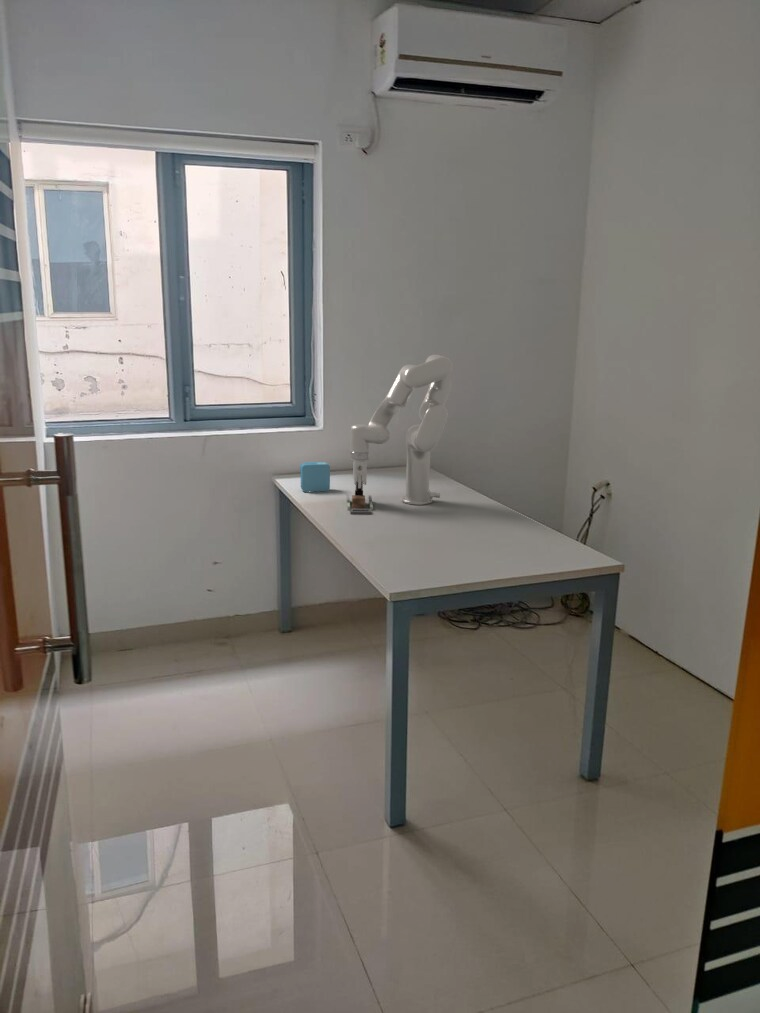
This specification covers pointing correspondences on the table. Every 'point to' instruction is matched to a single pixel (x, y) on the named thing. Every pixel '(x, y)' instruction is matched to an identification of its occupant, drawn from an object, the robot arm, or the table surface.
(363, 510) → the tray
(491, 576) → the table surface
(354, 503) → the walnut block
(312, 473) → the data package
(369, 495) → the walled lane
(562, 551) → the table surface
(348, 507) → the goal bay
